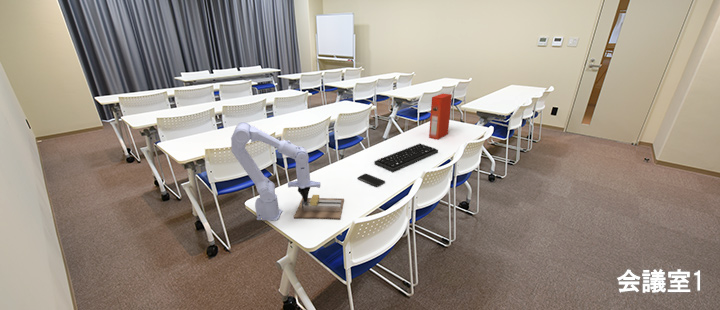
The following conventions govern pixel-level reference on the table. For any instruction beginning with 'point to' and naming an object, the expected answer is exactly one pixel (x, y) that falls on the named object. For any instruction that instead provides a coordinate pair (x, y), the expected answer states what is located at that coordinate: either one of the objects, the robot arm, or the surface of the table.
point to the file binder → (440, 116)
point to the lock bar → (314, 200)
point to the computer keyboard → (405, 157)
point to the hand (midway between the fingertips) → (305, 200)
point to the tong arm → (328, 201)
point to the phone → (371, 180)
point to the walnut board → (318, 212)
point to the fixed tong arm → (321, 207)
